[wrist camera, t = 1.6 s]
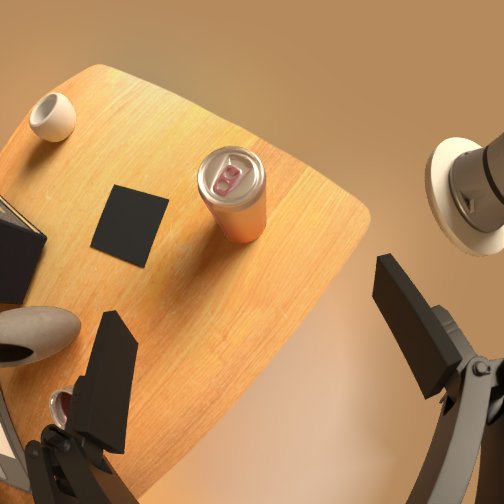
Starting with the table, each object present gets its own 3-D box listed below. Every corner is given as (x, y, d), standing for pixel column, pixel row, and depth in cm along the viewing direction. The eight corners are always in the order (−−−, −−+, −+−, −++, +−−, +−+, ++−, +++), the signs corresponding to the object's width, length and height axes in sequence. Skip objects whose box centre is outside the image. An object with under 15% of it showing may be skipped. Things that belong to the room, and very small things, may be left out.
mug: (88, 121, 43) (67, 98, 35) (57, 155, 42) (33, 136, 35) (66, 99, 45) (48, 78, 37) (39, 129, 44) (18, 111, 36)
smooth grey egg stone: (35, 365, 36) (-46, 380, 18) (24, 326, 37) (-58, 327, 19) (111, 341, 36) (18, 359, 18) (96, 295, 38) (1, 285, 19)
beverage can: (212, 229, 38) (181, 187, 24) (236, 192, 39) (220, 133, 24) (250, 252, 38) (241, 221, 23) (274, 214, 38) (279, 163, 24)
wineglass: (135, 374, 36) (89, 397, 24) (137, 416, 34) (97, 449, 23) (95, 366, 36) (45, 382, 24) (99, 407, 35) (53, 432, 23)
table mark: (169, 200, 39) (169, 199, 39) (144, 267, 38) (143, 267, 38) (114, 184, 40) (114, 184, 40) (90, 245, 39) (90, 245, 39)
